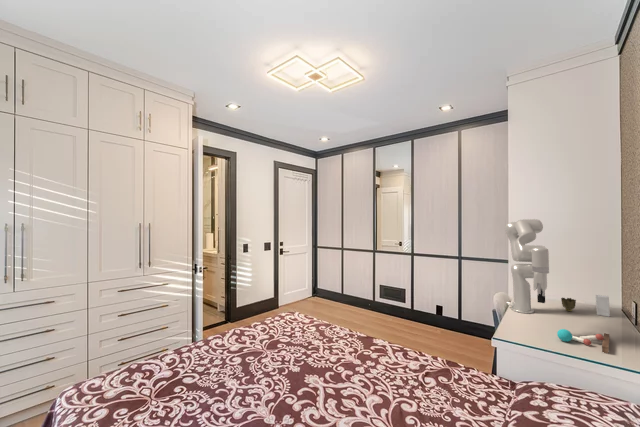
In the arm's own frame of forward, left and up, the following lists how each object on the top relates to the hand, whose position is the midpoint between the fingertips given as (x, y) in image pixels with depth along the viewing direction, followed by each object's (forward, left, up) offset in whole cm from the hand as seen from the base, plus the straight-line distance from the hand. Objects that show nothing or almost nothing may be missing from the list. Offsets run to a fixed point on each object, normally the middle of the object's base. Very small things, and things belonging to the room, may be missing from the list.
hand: (541, 302), depth 159 cm
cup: (+6, +51, -17) cm, 54 cm away
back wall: (+25, 0, -16) cm, 30 cm away
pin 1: (+12, -2, -15) cm, 20 cm away
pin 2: (+16, 0, -15) cm, 22 cm away
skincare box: (+22, +55, -17) cm, 61 cm away
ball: (+10, -7, -13) cm, 18 cm away
